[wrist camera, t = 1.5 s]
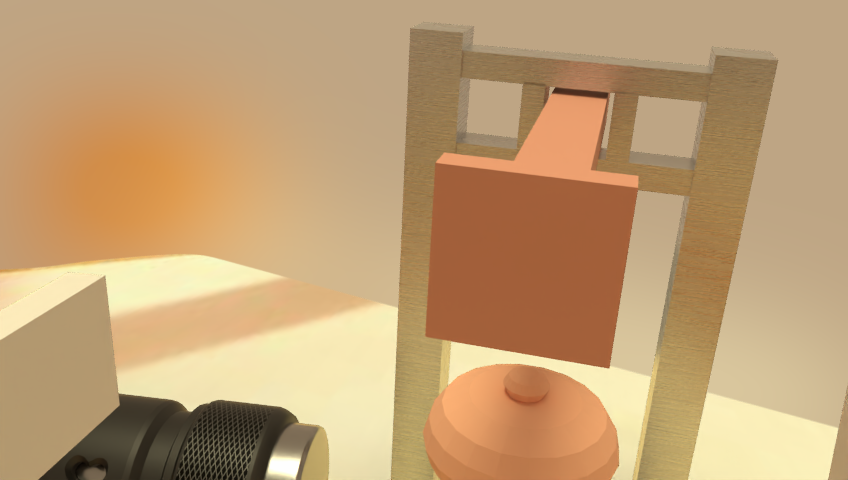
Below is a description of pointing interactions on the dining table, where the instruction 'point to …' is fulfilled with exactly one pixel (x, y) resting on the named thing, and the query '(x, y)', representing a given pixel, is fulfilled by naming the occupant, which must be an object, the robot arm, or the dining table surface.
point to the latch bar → (533, 240)
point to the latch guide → (690, 177)
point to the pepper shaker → (520, 428)
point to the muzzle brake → (196, 444)
